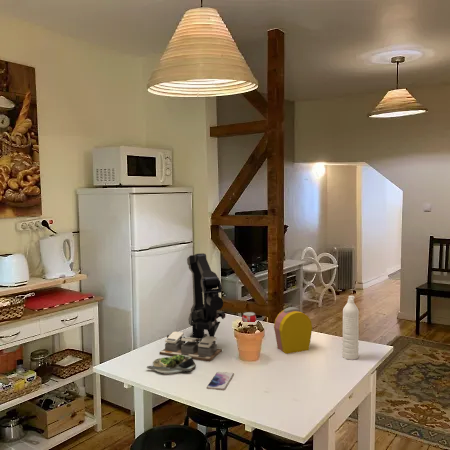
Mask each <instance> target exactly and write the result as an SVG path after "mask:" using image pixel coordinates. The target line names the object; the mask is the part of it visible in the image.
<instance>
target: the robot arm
mask: <svg viewBox="0 0 450 450" xmlns="http://www.w3.org/2000/svg"><path fill="white" fill-rule="evenodd" d="M186 263H187V266H188V270H189V271H190V273H191V275H192V277H191V278H192V291H193V292H192V296H193V304H192V306H191V307H190V314H189V316H188V324H189V326H190V327H191V328H192V334H191V335H190V336H189V337H191V338H199V339H203V338H204V337H205V336H212V337H215V335H216V332H217V330H218V327H219V325H220V323H221V321H219V320H218V319H219V318H221V319H222V320H224V319H225V318H226V312H225V311H224V310H221V309H222V308H223V307H224V301H223V299H222V297H220V295H219V294H220V293H222V292H223V291H222V290H223V287H222V283H221V280H220V278H219V276H218V275H217V273H216V272H214V271H212V269H211V267H210V263H209V262H208V259H207V255H206V253H203V252H201V253H195V254H191V255H189V256H187V258H186ZM205 331H207V333H208V334H207V333H205Z"/></svg>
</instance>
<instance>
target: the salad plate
mask: <svg viewBox="0 0 450 450" xmlns="http://www.w3.org/2000/svg"><path fill="white" fill-rule="evenodd" d="M196 366H197V365H196V362H195V360H194V359H193V358H191V357H190V356H186V355H177V356H166V357H165V356H163V357H158V358H156V359H154V360H153V361H152V365H147V366H146V369H147V370H152V371H155V372H158V373H160V374H163V375H164V374H165V375H174V374H183V373H189V372H192V371H193V370H194V369H195V368H196Z"/></svg>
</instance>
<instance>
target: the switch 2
mask: <svg viewBox="0 0 450 450" xmlns="http://www.w3.org/2000/svg"><path fill="white" fill-rule="evenodd" d="M216 340H217V336H214V337H212V336H209V335H207V336H205V337H204V338H202V340H201V342H200V343H199V344H198V346H199V347H207V348H209V347H210V346H211V345H212V344H213V341H216Z"/></svg>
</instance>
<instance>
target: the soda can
mask: <svg viewBox="0 0 450 450" xmlns="http://www.w3.org/2000/svg"><path fill="white" fill-rule="evenodd" d="M257 320H258V319H257V316H256V313H255V312H253V311H248V312H247V311H245V312H243V313H242V316H241V322H242V321H243V322H255V321H257ZM257 322H258V321H257Z"/></svg>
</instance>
